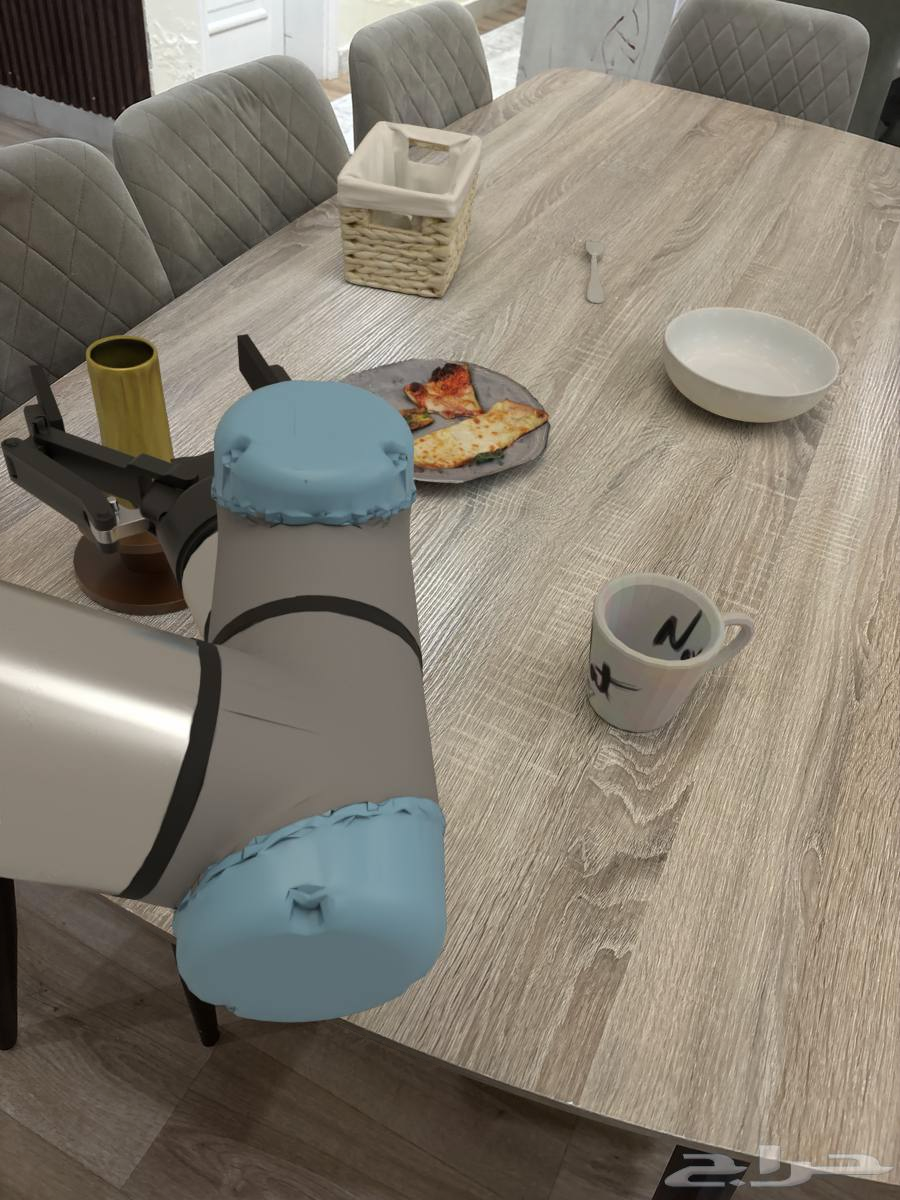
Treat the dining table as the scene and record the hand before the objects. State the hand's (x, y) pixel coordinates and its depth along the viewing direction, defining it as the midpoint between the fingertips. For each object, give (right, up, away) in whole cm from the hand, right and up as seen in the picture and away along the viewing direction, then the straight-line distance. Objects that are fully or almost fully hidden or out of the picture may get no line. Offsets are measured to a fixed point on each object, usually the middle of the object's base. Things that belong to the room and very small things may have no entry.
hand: (145, 366), depth 64 cm
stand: (-6, -12, +23) cm, 27 cm away
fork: (+42, +33, +76) cm, 93 cm away
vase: (-6, -7, +18) cm, 20 cm away
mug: (+38, -24, +17) cm, 48 cm away
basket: (+14, +33, +72) cm, 81 cm away
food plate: (+19, +3, +42) cm, 47 cm away
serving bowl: (+56, +9, +54) cm, 78 cm away
